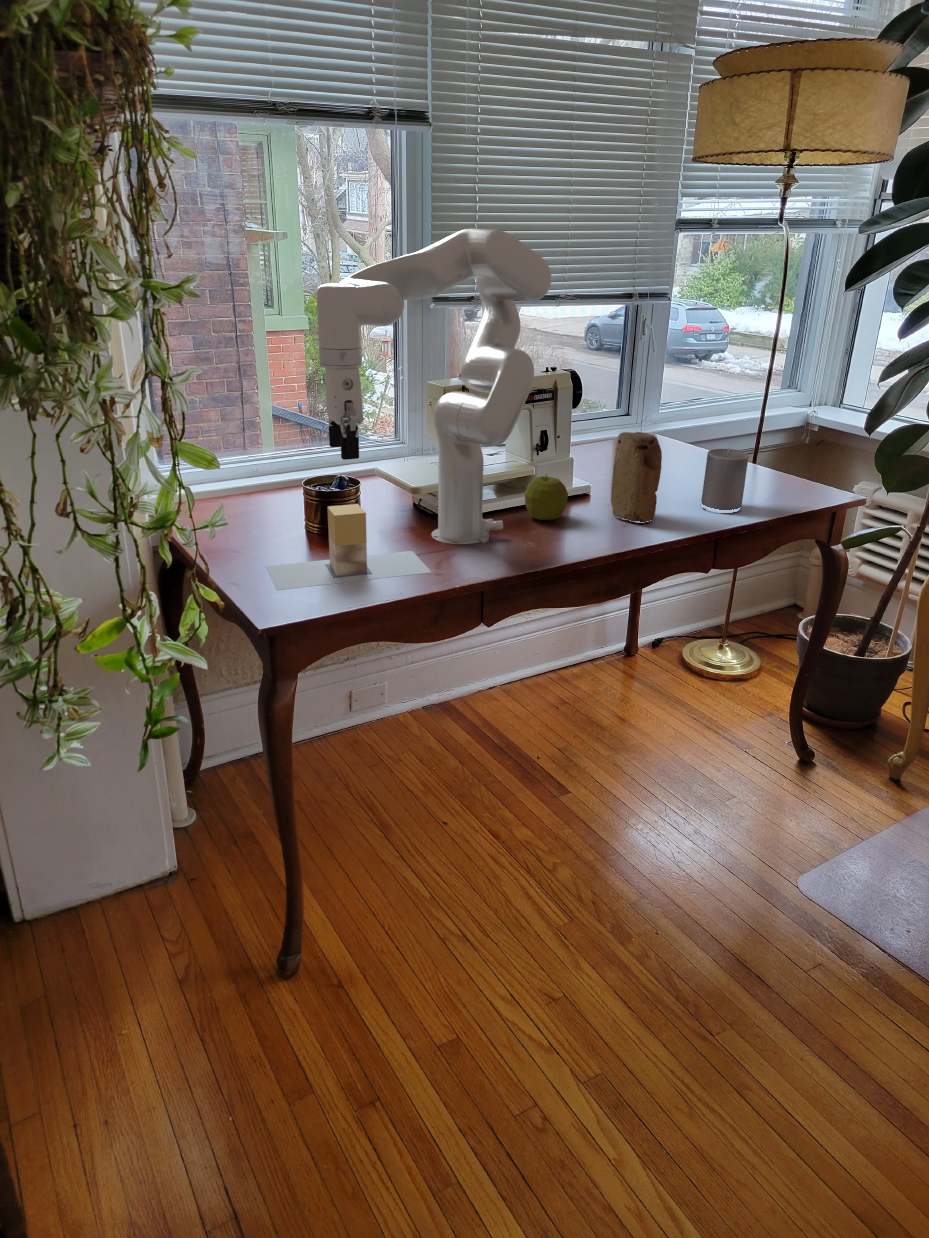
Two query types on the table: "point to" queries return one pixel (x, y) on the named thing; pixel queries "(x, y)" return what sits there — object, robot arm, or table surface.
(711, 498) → the pillar candle
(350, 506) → the ochre cube
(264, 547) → the table surface
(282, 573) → the board
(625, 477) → the block
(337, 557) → the maple cube
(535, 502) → the apple
